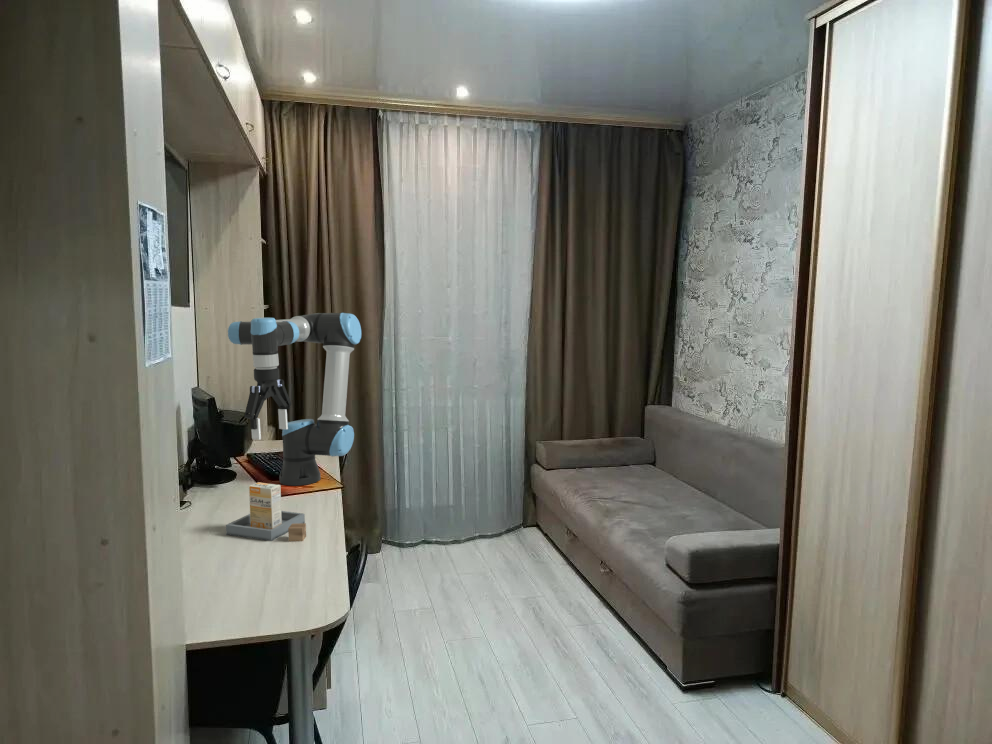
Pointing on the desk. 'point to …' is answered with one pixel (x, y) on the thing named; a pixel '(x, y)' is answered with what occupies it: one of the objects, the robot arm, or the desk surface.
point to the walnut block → (297, 532)
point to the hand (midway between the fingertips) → (270, 433)
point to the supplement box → (265, 505)
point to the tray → (245, 529)
